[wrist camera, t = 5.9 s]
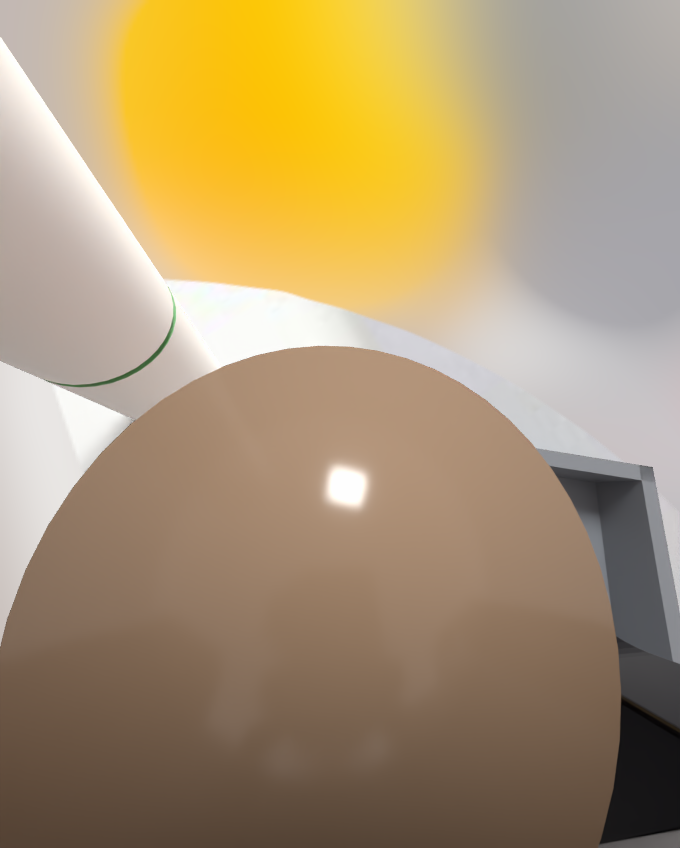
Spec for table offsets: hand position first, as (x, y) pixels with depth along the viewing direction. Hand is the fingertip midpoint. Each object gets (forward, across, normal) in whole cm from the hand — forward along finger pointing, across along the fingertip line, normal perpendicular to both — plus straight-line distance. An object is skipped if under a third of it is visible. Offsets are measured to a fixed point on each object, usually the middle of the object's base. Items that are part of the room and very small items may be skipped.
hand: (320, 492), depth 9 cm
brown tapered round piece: (+4, 0, +6) cm, 7 cm away
